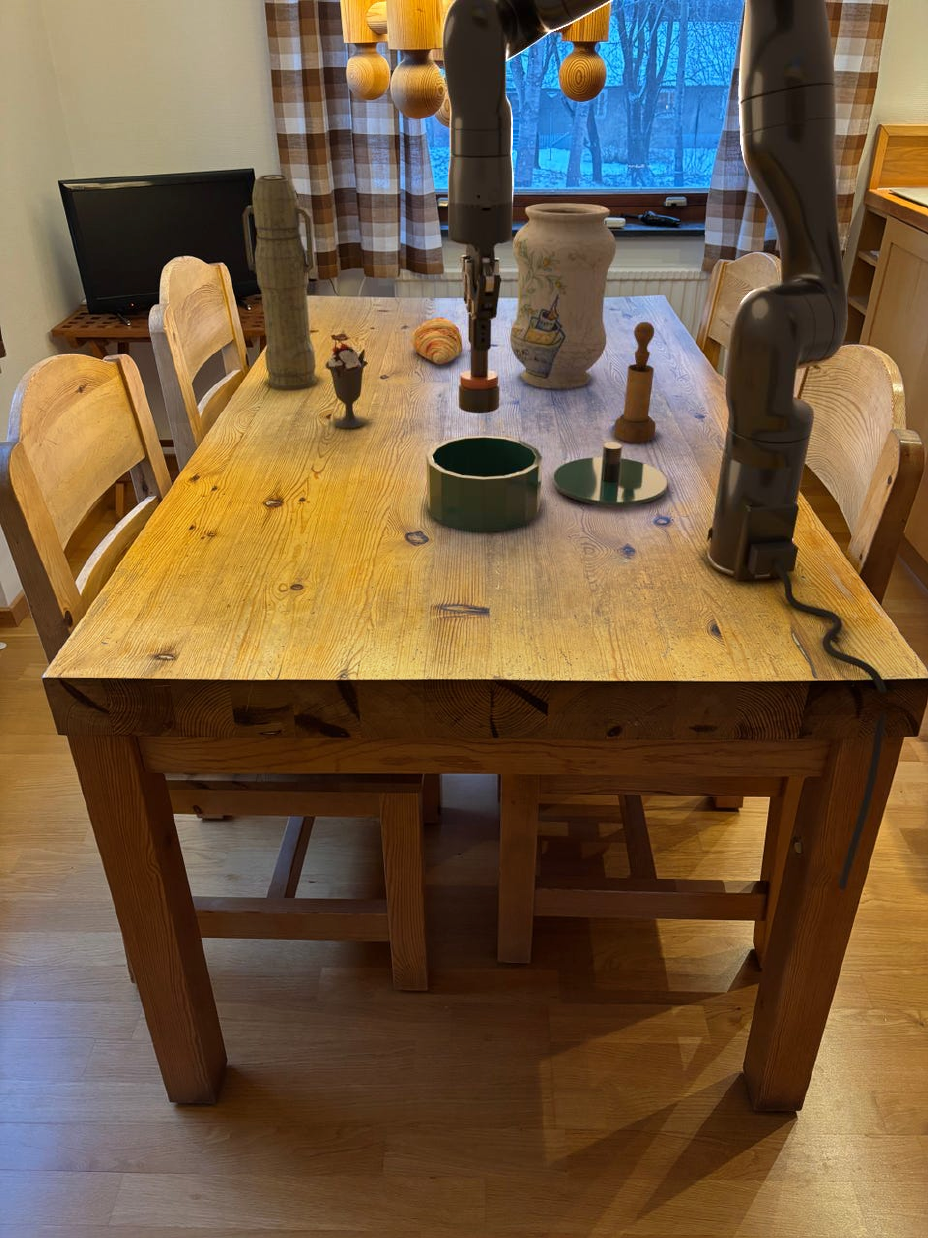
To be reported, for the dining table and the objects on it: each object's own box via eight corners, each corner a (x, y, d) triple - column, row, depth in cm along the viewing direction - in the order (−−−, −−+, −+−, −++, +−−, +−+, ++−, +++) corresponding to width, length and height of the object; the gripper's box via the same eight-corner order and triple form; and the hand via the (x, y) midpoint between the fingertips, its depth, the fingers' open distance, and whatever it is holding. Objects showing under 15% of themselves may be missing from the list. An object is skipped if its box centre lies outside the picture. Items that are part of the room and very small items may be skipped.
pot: (550, 527, 127) (553, 474, 123) (436, 536, 125) (435, 482, 121) (525, 481, 140) (527, 432, 136) (421, 488, 138) (420, 439, 134)
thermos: (323, 389, 176) (306, 179, 157) (257, 389, 175) (233, 180, 157) (326, 374, 183) (311, 172, 165) (264, 374, 183) (242, 173, 165)
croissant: (456, 385, 188) (475, 348, 185) (410, 362, 185) (429, 325, 182) (445, 351, 206) (463, 318, 203) (403, 331, 203) (420, 296, 199)
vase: (545, 358, 192) (553, 195, 176) (623, 376, 182) (638, 205, 167) (489, 380, 180) (492, 207, 164) (569, 400, 170) (580, 219, 155)
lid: (682, 505, 133) (688, 463, 130) (568, 513, 131) (571, 471, 128) (645, 461, 147) (649, 422, 143) (541, 467, 144) (543, 428, 141)
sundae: (321, 426, 159) (314, 335, 151) (344, 414, 164) (338, 325, 156) (355, 433, 157) (349, 340, 149) (377, 420, 162) (373, 330, 154)
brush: (502, 412, 123) (504, 297, 115) (462, 414, 122) (462, 299, 115) (494, 399, 127) (496, 288, 120) (455, 401, 126) (455, 289, 119)
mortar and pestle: (653, 444, 153) (666, 329, 143) (612, 441, 154) (622, 327, 144) (655, 429, 158) (667, 318, 149) (615, 427, 159) (624, 316, 150)
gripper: (439, 189, 117) (441, 333, 126) (458, 206, 105) (459, 364, 114) (500, 187, 118) (497, 330, 127) (525, 205, 106) (520, 361, 115)
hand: (479, 345), depth 121 cm, fingers closed on brush
